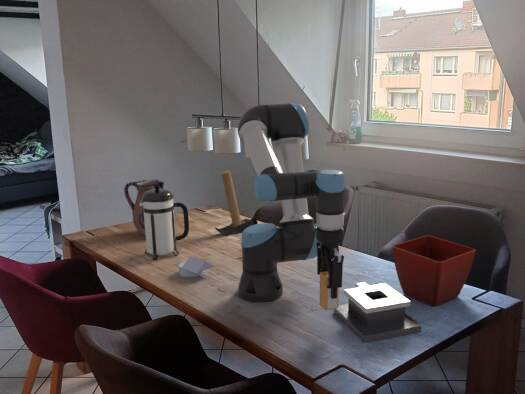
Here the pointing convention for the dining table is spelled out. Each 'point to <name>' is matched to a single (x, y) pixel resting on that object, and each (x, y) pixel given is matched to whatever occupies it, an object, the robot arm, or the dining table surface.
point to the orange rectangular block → (325, 290)
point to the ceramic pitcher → (136, 209)
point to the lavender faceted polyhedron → (193, 267)
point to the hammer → (233, 210)
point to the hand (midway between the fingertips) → (328, 303)
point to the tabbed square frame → (376, 312)
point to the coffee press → (161, 222)
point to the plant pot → (432, 268)
